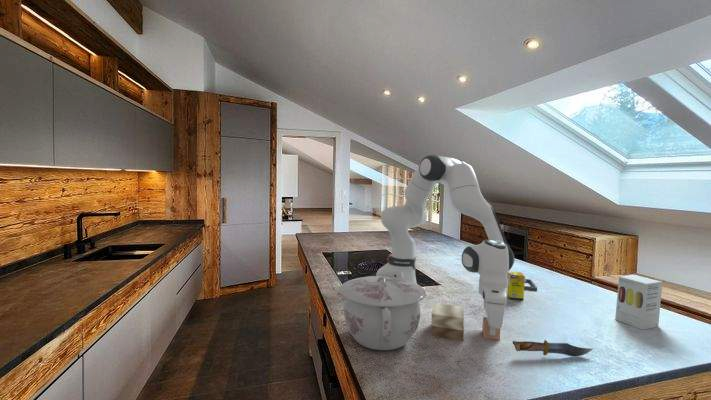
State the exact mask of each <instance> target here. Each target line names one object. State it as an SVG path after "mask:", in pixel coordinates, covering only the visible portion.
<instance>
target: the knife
mask: <svg viewBox="0 0 711 400" xmlns="http://www.w3.org/2000/svg"><path fill="white" fill-rule="evenodd" d="M511 342H512V344H513V347H514V348H515V349H514V350H515V352H521V351H522V352H542V355H543V356H547V355H548V354H561V355H565V356H569V357H574V358H575V357H581V356H584V355H587V354H588V353H590V352H591V351H592V350H593V348H587V347H580V346H575V345H572V344H570V343H568V342H548V341H547V340H546V339H544V340H543V342H539V341H525V340H523V341H516V340H512V341H511Z"/></svg>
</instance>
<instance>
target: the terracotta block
mask: <svg viewBox="0 0 711 400" xmlns="http://www.w3.org/2000/svg"><path fill="white" fill-rule="evenodd" d="M481 329H482V331H481V332H482V335H483V336H482V337H483V338H485V339H490V340H491V339H492V340H498V341H501V328H500V329H498V328H496V332H495V335H490V333H489V324H488V320H487V316H482V328H481Z"/></svg>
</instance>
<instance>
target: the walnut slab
mask: <svg viewBox="0 0 711 400" xmlns="http://www.w3.org/2000/svg"><path fill="white" fill-rule="evenodd" d="M464 332H465V327H464V325H463V330H457V329H450V328H444V327H437V326H431V337H435V338H441V339H447V340H455V341H460V342H461V341H462V342H463V341H464V335H465V333H464Z"/></svg>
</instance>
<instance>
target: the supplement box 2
mask: <svg viewBox="0 0 711 400" xmlns="http://www.w3.org/2000/svg"><path fill="white" fill-rule="evenodd" d="M617 285H618V286H617V294H616V295H617V296H616V305H615V308H616V309H615V319H614V320H617V321H619V322H621V323H624V324H626V325H629V326H632V327H635V328H637V329H640V330H641V331H644V330H648V329H653V328H657V327H659V324H660V323H659V322H660V312H661V311H660V310H661V301H662V289H663V281H661V280H657V279H652V278H649V277H646V276H645V277H644V276H641V275H637V274H628V275H620V276H618V283H617Z"/></svg>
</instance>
